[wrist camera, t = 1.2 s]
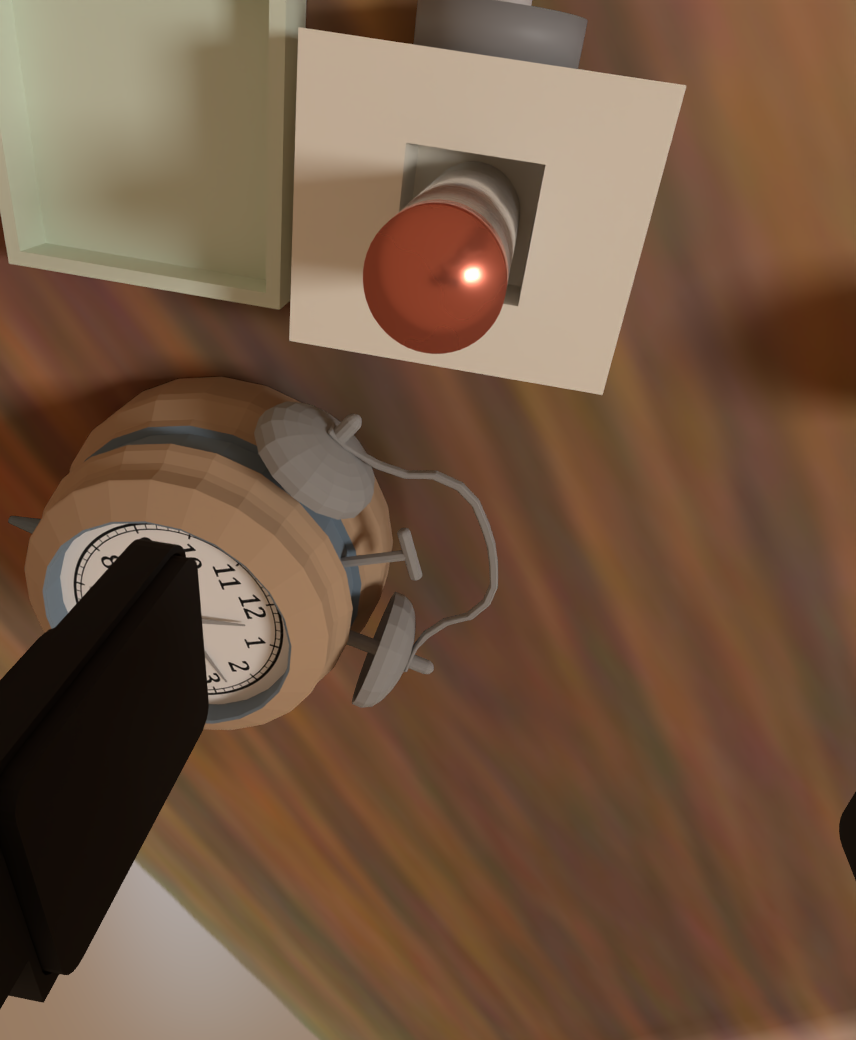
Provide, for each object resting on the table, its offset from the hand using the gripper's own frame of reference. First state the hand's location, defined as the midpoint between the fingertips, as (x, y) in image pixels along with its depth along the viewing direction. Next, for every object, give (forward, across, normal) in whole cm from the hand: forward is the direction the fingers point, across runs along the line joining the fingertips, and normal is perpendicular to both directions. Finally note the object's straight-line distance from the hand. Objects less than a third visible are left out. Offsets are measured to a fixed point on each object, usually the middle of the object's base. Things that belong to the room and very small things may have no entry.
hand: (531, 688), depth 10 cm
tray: (+25, +16, -4) cm, 30 cm away
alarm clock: (+26, +11, +14) cm, 31 cm away
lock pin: (+22, +3, -2) cm, 23 cm away
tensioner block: (+25, +3, -2) cm, 25 cm away
